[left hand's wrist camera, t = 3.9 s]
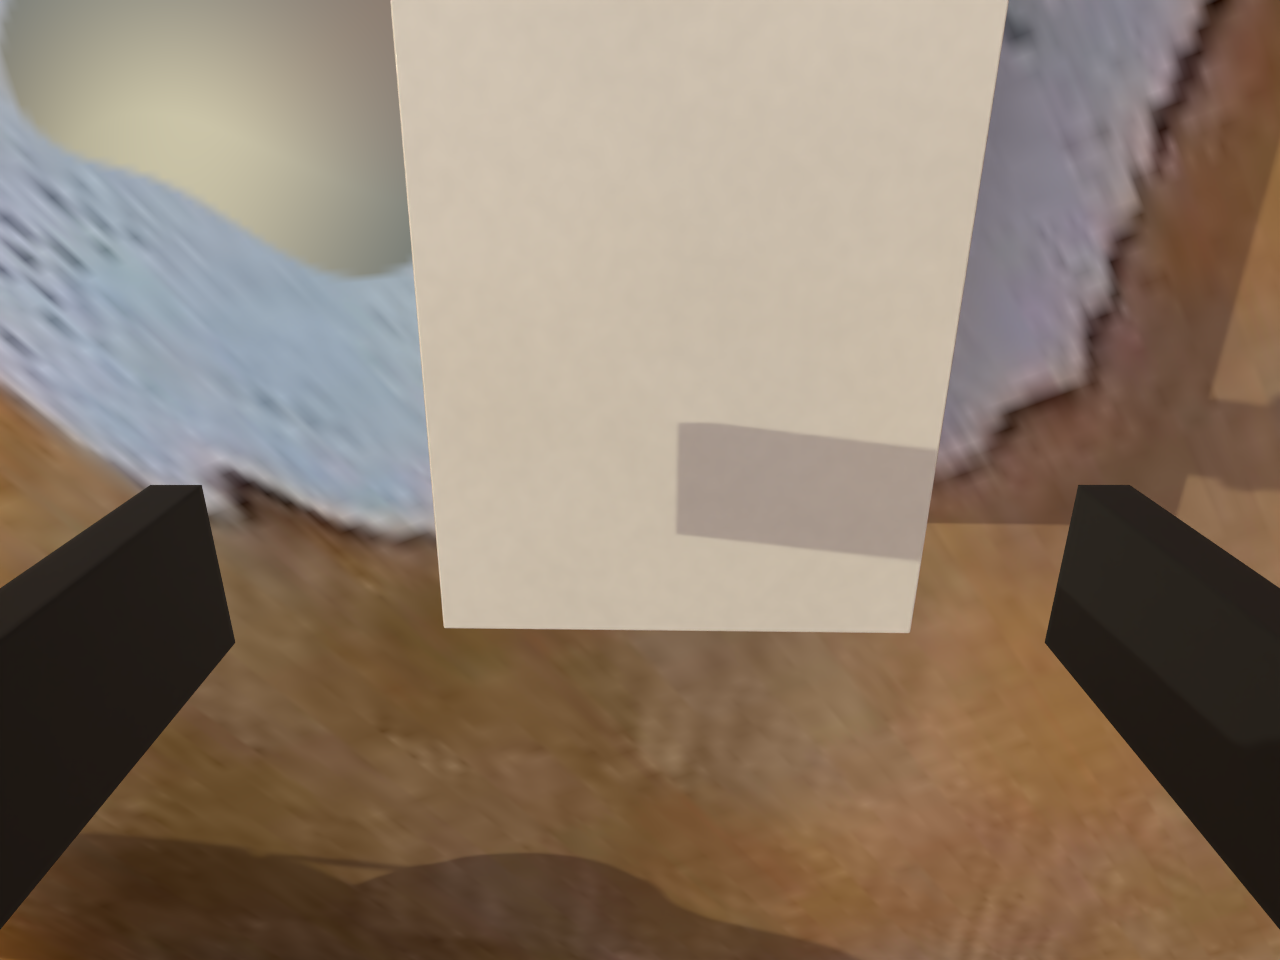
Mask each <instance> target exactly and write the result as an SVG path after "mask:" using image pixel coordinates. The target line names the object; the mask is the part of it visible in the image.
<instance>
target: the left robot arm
mask: <svg viewBox="0 0 1280 960" xmlns="http://www.w3.org/2000/svg"><path fill="white" fill-rule="evenodd" d="M234 643H235V639H234V634H233V630H232V625H231V620H230V616H229V611H228V606H227V602H226V597H225V592H224V588H223V583H222V578H221V574H220V569H219V564H218V560H217V555H216V550H215V546H214V541H213V536H212V531H211V527H210V522H209V517H208V513H207V508H206V503H205V499H204V494H203V489H202V485H150V486H148V487H147V488H146V489H144V490H143V491H141V492H140V493H138V494H137V495H135V496H134V497H132V498H131V499H130V500H128V501H127V502H125V503H124V504H122V505H121V506H119V507H118V508H116V509H115V510H114V511H112V512H111V513H109V514H108V515H106V516H105V517H103V518H102V519H100V520H99V521H98V522H96V523H95V524H93V525H92V526H90V527H89V528H87V529H86V530H84V531H83V532H82V533H80V534H79V535H77V536H76V537H74V538H73V539H71V540H70V541H68V542H67V543H66V544H64V545H63V546H61V547H60V548H58V549H57V550H55V551H54V552H52V553H51V554H50V555H48V556H47V557H45V558H44V559H42V560H41V561H39V562H38V563H36V564H35V565H34V566H32V567H31V568H29V569H28V570H26V571H25V572H23V573H22V574H20V575H19V576H18V577H16V578H15V579H13V580H12V581H10V582H9V583H7V584H6V585H4V586H3V587H2V588H0V929H1V928H2V927H3V925H4V924H5V923H6V922H7V921H8V919H9V918H10V917H11V916H12V914H13V913H14V912H15V911H16V910H17V908H18V907H19V906H20V905H21V903H22V902H23V901H24V900H25V899H26V897H27V896H28V895H29V894H30V892H31V891H32V890H33V889H34V888H35V886H36V885H37V884H38V883H39V881H40V880H41V879H42V878H43V877H44V875H45V874H46V873H47V872H48V870H49V869H50V868H51V867H52V866H53V864H54V863H55V862H56V861H57V859H58V858H59V857H60V856H61V855H62V853H63V852H64V851H65V850H66V848H67V847H68V846H69V845H70V844H71V842H72V841H73V840H74V839H75V838H76V836H77V835H78V834H79V833H80V831H81V830H82V829H83V828H84V827H85V825H86V824H87V823H88V822H89V820H90V819H91V818H92V817H93V816H94V814H95V813H96V812H97V811H98V809H99V808H100V807H101V806H102V805H103V803H104V802H105V801H106V800H107V798H108V797H109V796H110V795H111V794H112V792H113V791H114V790H115V789H116V787H117V786H118V785H119V784H120V783H121V781H122V780H123V779H124V778H125V776H126V775H127V774H128V773H129V772H130V770H131V769H132V768H133V767H134V765H135V764H136V763H137V762H138V761H139V759H140V758H141V757H142V756H143V755H144V753H145V752H146V751H147V750H148V748H149V747H150V746H151V745H152V744H153V742H154V741H155V740H156V739H157V737H158V736H159V735H160V734H161V733H162V731H163V730H164V729H165V728H166V726H167V725H168V724H169V723H170V722H171V720H172V719H173V718H174V717H175V715H176V714H177V713H178V712H179V711H180V709H181V708H182V707H183V706H184V704H185V703H186V702H187V701H188V700H189V698H190V697H191V696H192V695H193V693H194V692H195V691H196V690H197V689H198V687H199V686H200V685H201V684H202V682H203V681H204V680H205V679H206V678H207V676H208V675H209V674H210V673H211V671H212V670H213V669H214V668H215V667H216V665H217V664H218V663H219V662H220V661H221V659H222V658H223V657H224V656H225V654H226V653H227V652H228V651H229V650H230V648H231V647H232V646H233V645H234ZM1045 643H1046V645H1047V646H1048V647H1049V648H1050V650H1051V651H1052V652H1053V653H1054V654H1055V656H1056V657H1057V658H1058V659H1059V661H1060V662H1061V663H1062V664H1063V665H1064V667H1065V668H1066V669H1067V670H1068V671H1069V673H1070V674H1071V675H1072V676H1073V678H1074V679H1075V680H1076V681H1077V682H1078V684H1079V685H1080V686H1081V687H1082V689H1083V690H1084V691H1085V692H1086V693H1087V695H1088V696H1089V697H1090V698H1091V700H1092V701H1093V702H1094V703H1095V704H1096V706H1097V707H1098V708H1099V709H1100V711H1101V712H1102V713H1103V714H1104V715H1105V717H1106V718H1107V719H1108V720H1109V722H1110V723H1111V724H1112V725H1113V726H1114V728H1115V729H1116V730H1117V731H1118V733H1119V734H1120V735H1121V736H1122V737H1123V739H1124V740H1125V741H1126V742H1127V744H1128V745H1129V746H1130V747H1131V748H1132V750H1133V751H1134V752H1135V753H1136V755H1137V756H1138V757H1139V758H1140V759H1141V761H1142V762H1143V763H1144V764H1145V765H1146V767H1147V768H1148V769H1149V770H1150V772H1151V773H1152V774H1153V775H1154V776H1155V778H1156V779H1157V780H1158V781H1159V783H1160V784H1161V785H1162V786H1163V787H1164V789H1165V790H1166V791H1167V792H1168V794H1169V795H1170V796H1171V797H1172V798H1173V800H1174V801H1175V802H1176V803H1177V805H1178V806H1179V807H1180V808H1181V809H1182V811H1183V812H1184V813H1185V814H1186V816H1187V817H1188V818H1189V819H1190V820H1191V822H1192V823H1193V824H1194V825H1195V827H1196V828H1197V829H1198V830H1199V831H1200V833H1201V834H1202V835H1203V836H1204V838H1205V839H1206V840H1207V841H1208V842H1209V844H1210V845H1211V846H1212V847H1213V848H1214V850H1215V851H1216V852H1217V853H1218V855H1219V856H1220V857H1221V858H1222V859H1223V861H1224V862H1225V863H1226V864H1227V866H1228V867H1229V868H1230V869H1231V870H1232V872H1233V873H1234V874H1235V875H1236V877H1237V878H1238V879H1239V880H1240V881H1241V883H1242V884H1243V885H1244V886H1245V888H1246V889H1247V890H1248V891H1249V892H1250V894H1251V895H1252V896H1253V897H1254V899H1255V900H1256V901H1257V902H1258V903H1259V905H1260V906H1261V907H1262V908H1263V910H1264V911H1265V912H1266V913H1267V914H1268V916H1269V917H1270V918H1271V919H1272V921H1273V922H1274V923H1275V924H1276V925H1277V927H1278V928H1279V929H1280V588H1278V587H1277V586H1276V585H1274V584H1273V583H1271V582H1270V581H1268V580H1267V579H1265V578H1264V577H1262V576H1261V575H1260V574H1258V573H1257V572H1255V571H1254V570H1252V569H1251V568H1249V567H1248V566H1246V565H1245V564H1244V563H1242V562H1241V561H1239V560H1238V559H1236V558H1235V557H1233V556H1232V555H1230V554H1229V553H1228V552H1226V551H1225V550H1223V549H1222V548H1220V547H1219V546H1217V545H1216V544H1214V543H1213V542H1212V541H1210V540H1209V539H1207V538H1206V537H1204V536H1203V535H1201V534H1200V533H1198V532H1197V531H1196V530H1194V529H1193V528H1191V527H1190V526H1188V525H1187V524H1185V523H1184V522H1182V521H1181V520H1180V519H1178V518H1177V517H1175V516H1174V515H1172V514H1171V513H1169V512H1168V511H1166V510H1165V509H1164V508H1162V507H1161V506H1159V505H1158V504H1156V503H1155V502H1153V501H1152V500H1150V499H1149V498H1148V497H1146V496H1145V495H1143V494H1142V493H1140V492H1139V491H1137V490H1136V489H1134V488H1133V487H1132V486H1130V485H1078V489H1077V494H1076V499H1075V503H1074V508H1073V513H1072V517H1071V522H1070V527H1069V531H1068V536H1067V541H1066V546H1065V550H1064V555H1063V560H1062V564H1061V569H1060V574H1059V578H1058V583H1057V588H1056V592H1055V597H1054V602H1053V606H1052V611H1051V616H1050V620H1049V625H1048V630H1047V634H1046V639H1045Z"/></svg>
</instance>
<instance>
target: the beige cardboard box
mask: <svg viewBox="0 0 1280 960" xmlns="http://www.w3.org/2000/svg"><path fill="white" fill-rule="evenodd" d="M390 2H391V13H392V25H393V37H394V49H395V60H396V72H397V83H398V95H399V107H400V119H401V130H402V142H403V154H404V166H405V177H406V189H407V200H408V213H409V224H410V236H411V248H412V259H413V271H414V283H415V295H416V306H417V318H418V330H419V341H420V353H421V365H422V377H423V388H424V400H425V412H426V423H427V435H428V447H429V458H430V470H431V482H432V494H433V505H434V517H435V529H436V540H437V552H438V564H439V576H440V587H441V599H442V611H443V622H444V628H496V629H588V630H681V631H773V632H866V633H910V629H911V623H912V616H913V610H914V603H915V597H916V591H917V584H918V578H919V571H920V565H921V559H922V552H923V546H924V539H925V533H926V527H927V520H928V514H929V507H930V501H931V495H932V488H933V482H934V475H935V469H936V463H937V456H938V450H939V443H940V437H941V431H942V424H943V418H944V411H945V405H946V399H947V392H948V386H949V380H950V373H951V367H952V360H953V354H954V348H955V341H956V335H957V328H958V322H959V316H960V309H961V303H962V296H963V290H964V284H965V277H966V271H967V264H968V258H969V252H970V245H971V239H972V232H973V226H974V220H975V213H976V207H977V200H978V194H979V188H980V181H981V175H982V168H983V162H984V156H985V149H986V143H987V136H988V130H989V124H990V117H991V111H992V104H993V98H994V92H995V85H996V79H997V72H998V66H999V60H1000V53H1001V47H1002V41H1003V34H1004V28H1005V21H1006V15H1007V9H1008V2H1009V0H390Z"/></svg>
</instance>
